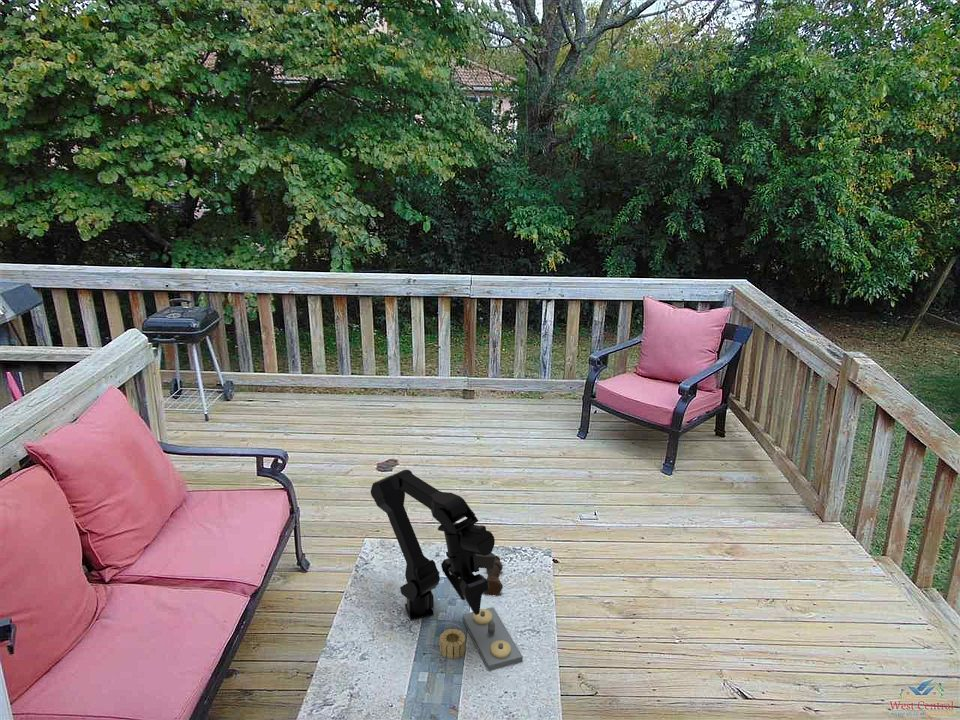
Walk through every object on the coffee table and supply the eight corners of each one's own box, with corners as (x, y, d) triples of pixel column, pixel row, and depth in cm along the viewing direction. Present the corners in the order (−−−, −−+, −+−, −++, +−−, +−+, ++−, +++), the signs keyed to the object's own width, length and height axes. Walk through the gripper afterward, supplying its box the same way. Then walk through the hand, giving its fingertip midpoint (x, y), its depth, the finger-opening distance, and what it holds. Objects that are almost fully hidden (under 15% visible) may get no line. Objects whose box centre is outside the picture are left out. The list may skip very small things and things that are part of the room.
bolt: (497, 569, 200) (494, 599, 186) (482, 561, 200) (479, 591, 185) (506, 555, 199) (505, 585, 184) (492, 547, 198) (489, 576, 184)
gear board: (488, 670, 159) (489, 652, 157) (462, 619, 176) (462, 601, 174) (522, 661, 162) (523, 643, 160) (493, 611, 179) (493, 594, 177)
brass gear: (444, 661, 161) (444, 649, 160) (436, 643, 167) (436, 632, 166) (468, 654, 163) (468, 643, 162) (460, 637, 169) (460, 626, 168)
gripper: (503, 549, 155) (514, 610, 157) (475, 527, 173) (485, 582, 174) (460, 564, 151) (472, 627, 153) (435, 540, 169) (447, 596, 171)
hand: (470, 606), depth 163 cm, fingers open, 9 cm apart
